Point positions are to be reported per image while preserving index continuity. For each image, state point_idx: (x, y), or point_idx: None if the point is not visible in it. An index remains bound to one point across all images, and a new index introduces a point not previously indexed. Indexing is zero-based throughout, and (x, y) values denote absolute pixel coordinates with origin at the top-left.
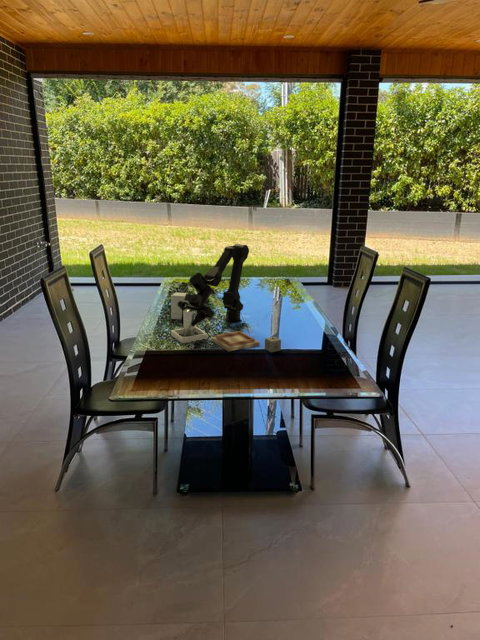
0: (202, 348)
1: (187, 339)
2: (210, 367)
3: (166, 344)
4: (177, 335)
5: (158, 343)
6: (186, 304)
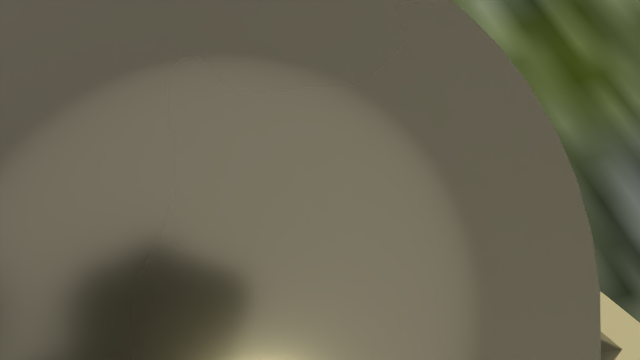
0: None
1: None
2: None
3: (471, 8)
4: None
5: (581, 8)
6: None
